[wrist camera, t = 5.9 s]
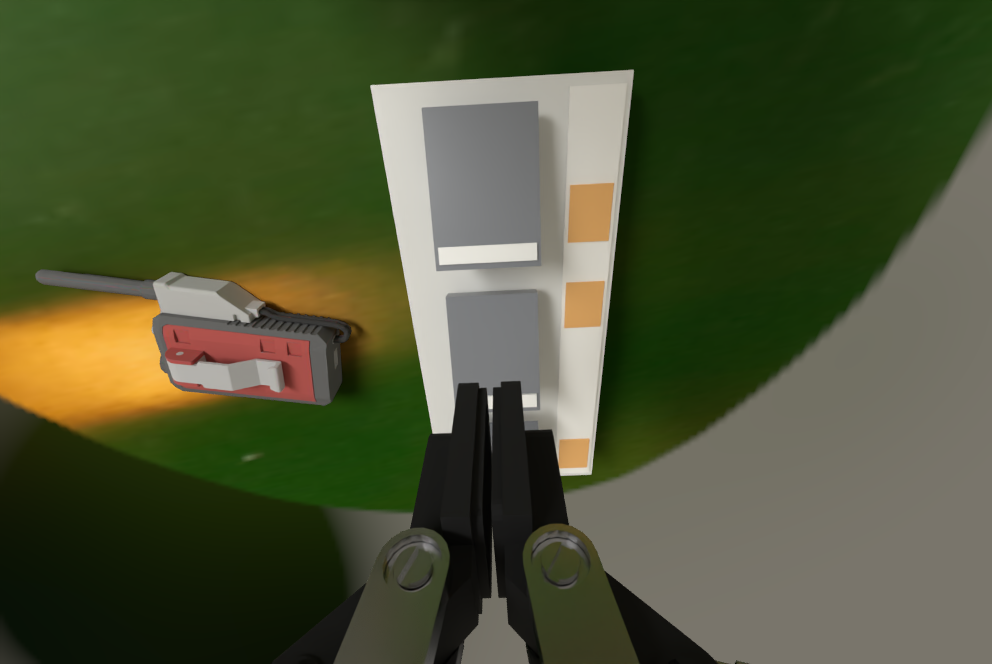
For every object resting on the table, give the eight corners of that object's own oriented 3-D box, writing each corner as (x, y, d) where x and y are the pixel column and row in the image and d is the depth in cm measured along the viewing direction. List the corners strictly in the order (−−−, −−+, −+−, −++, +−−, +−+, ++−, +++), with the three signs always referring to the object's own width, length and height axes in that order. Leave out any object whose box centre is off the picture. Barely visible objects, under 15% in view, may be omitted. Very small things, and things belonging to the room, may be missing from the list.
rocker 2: (448, 293, 23) (445, 297, 22) (535, 288, 23) (537, 293, 22) (457, 404, 25) (455, 415, 24) (538, 401, 25) (540, 411, 23)
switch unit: (389, 86, 22) (361, 84, 17) (611, 73, 22) (644, 68, 17) (446, 442, 36) (439, 495, 31) (581, 437, 35) (595, 489, 31)
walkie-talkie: (355, 291, 28) (51, 253, 27) (333, 322, 25) (-22, 279, 23) (358, 388, 33) (98, 359, 31) (341, 426, 29) (44, 396, 28)
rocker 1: (426, 114, 18) (420, 106, 17) (535, 108, 18) (538, 99, 17) (439, 268, 20) (435, 271, 19) (539, 263, 20) (541, 266, 19)
